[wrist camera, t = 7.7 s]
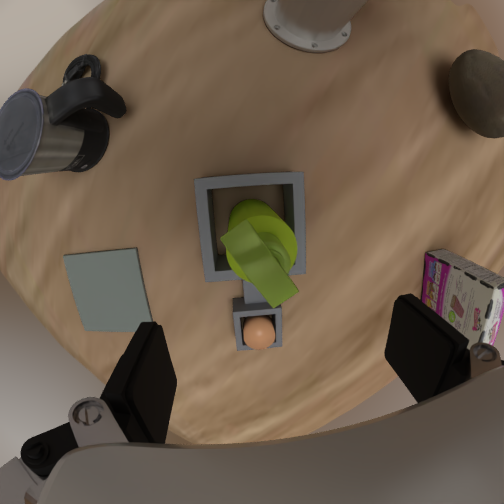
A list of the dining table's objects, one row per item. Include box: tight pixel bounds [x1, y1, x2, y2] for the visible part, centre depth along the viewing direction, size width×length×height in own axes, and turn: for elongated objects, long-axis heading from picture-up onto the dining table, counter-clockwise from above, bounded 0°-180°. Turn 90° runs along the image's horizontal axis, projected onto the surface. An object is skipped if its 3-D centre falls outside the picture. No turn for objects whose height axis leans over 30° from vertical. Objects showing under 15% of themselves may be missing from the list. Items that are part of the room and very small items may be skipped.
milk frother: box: [0, 54, 126, 180], centre depth 22 cm, size 14×16×15 cm
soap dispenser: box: [220, 199, 299, 308], centre depth 25 cm, size 6×7×20 cm
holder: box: [194, 172, 306, 351], centre depth 33 cm, size 23×11×6 cm, turn 4°
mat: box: [63, 248, 153, 332], centre depth 36 cm, size 13×13×1 cm
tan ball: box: [243, 315, 275, 350], centre depth 35 cm, size 4×4×3 cm
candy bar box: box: [421, 249, 504, 350], centre depth 32 cm, size 11×5×16 cm, turn 9°
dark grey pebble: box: [449, 49, 504, 138], centre depth 23 cm, size 14×14×15 cm
